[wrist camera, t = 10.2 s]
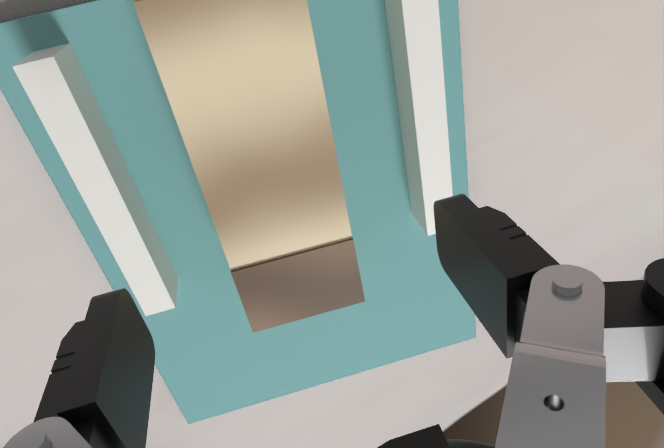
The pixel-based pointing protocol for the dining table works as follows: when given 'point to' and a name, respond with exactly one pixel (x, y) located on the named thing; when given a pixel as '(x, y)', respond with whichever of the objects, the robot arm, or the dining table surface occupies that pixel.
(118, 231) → the pair of grey bars
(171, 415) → the dining table surface
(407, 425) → the dining table surface
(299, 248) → the tan rectangular block
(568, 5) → the dining table surface
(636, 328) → the robot arm
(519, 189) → the dining table surface
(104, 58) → the rubber mat
